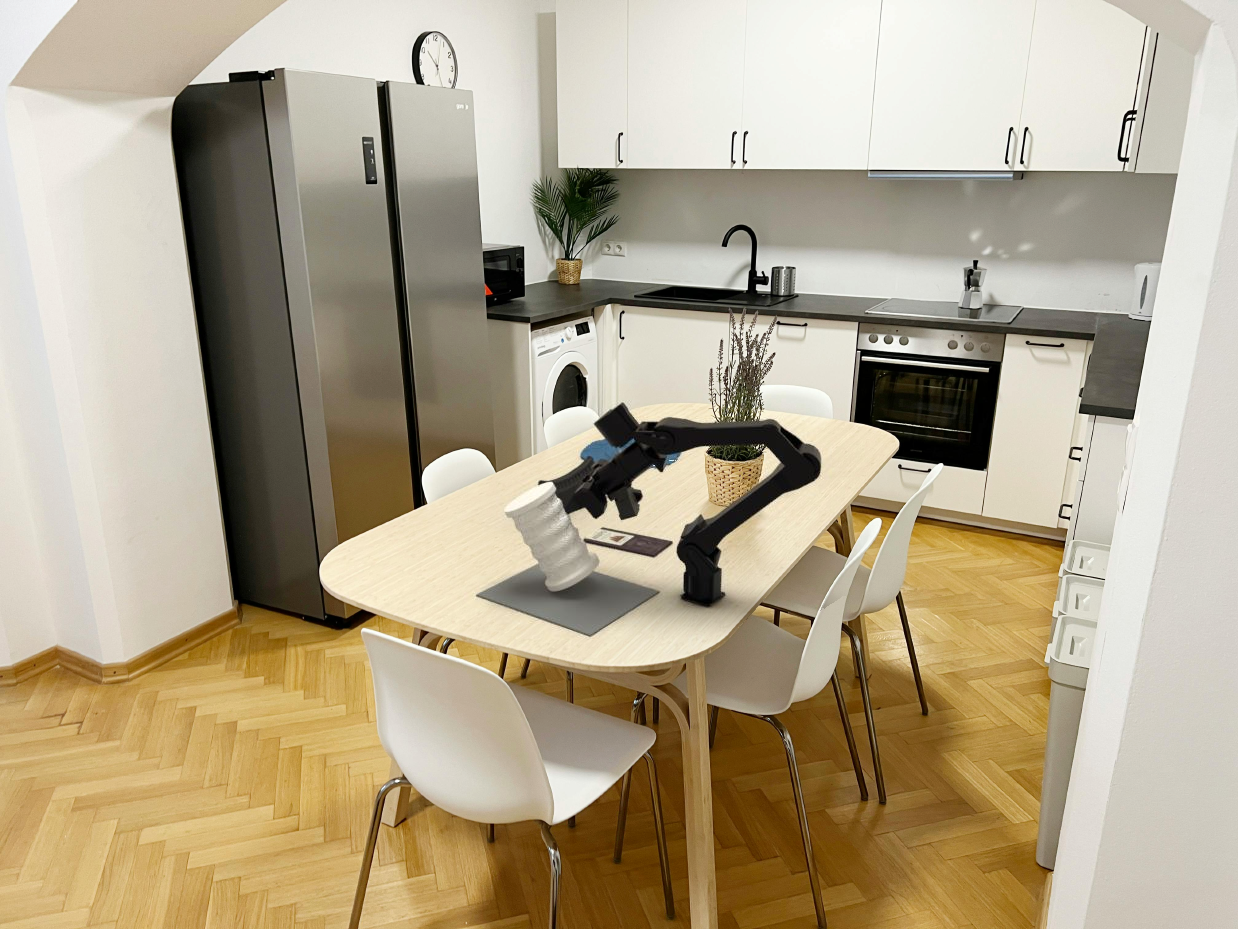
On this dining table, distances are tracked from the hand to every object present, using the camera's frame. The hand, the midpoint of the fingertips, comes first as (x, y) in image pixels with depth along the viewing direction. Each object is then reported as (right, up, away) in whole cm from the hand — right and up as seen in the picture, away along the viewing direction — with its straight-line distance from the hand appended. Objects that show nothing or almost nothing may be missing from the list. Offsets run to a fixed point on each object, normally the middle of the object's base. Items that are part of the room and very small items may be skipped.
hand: (566, 511), depth 172 cm
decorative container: (+1, -13, +3) cm, 13 cm away
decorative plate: (+14, +11, +91) cm, 93 cm away
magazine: (-3, -2, +46) cm, 46 cm away
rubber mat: (0, -16, +1) cm, 16 cm away
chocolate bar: (+12, -9, +26) cm, 30 cm away
